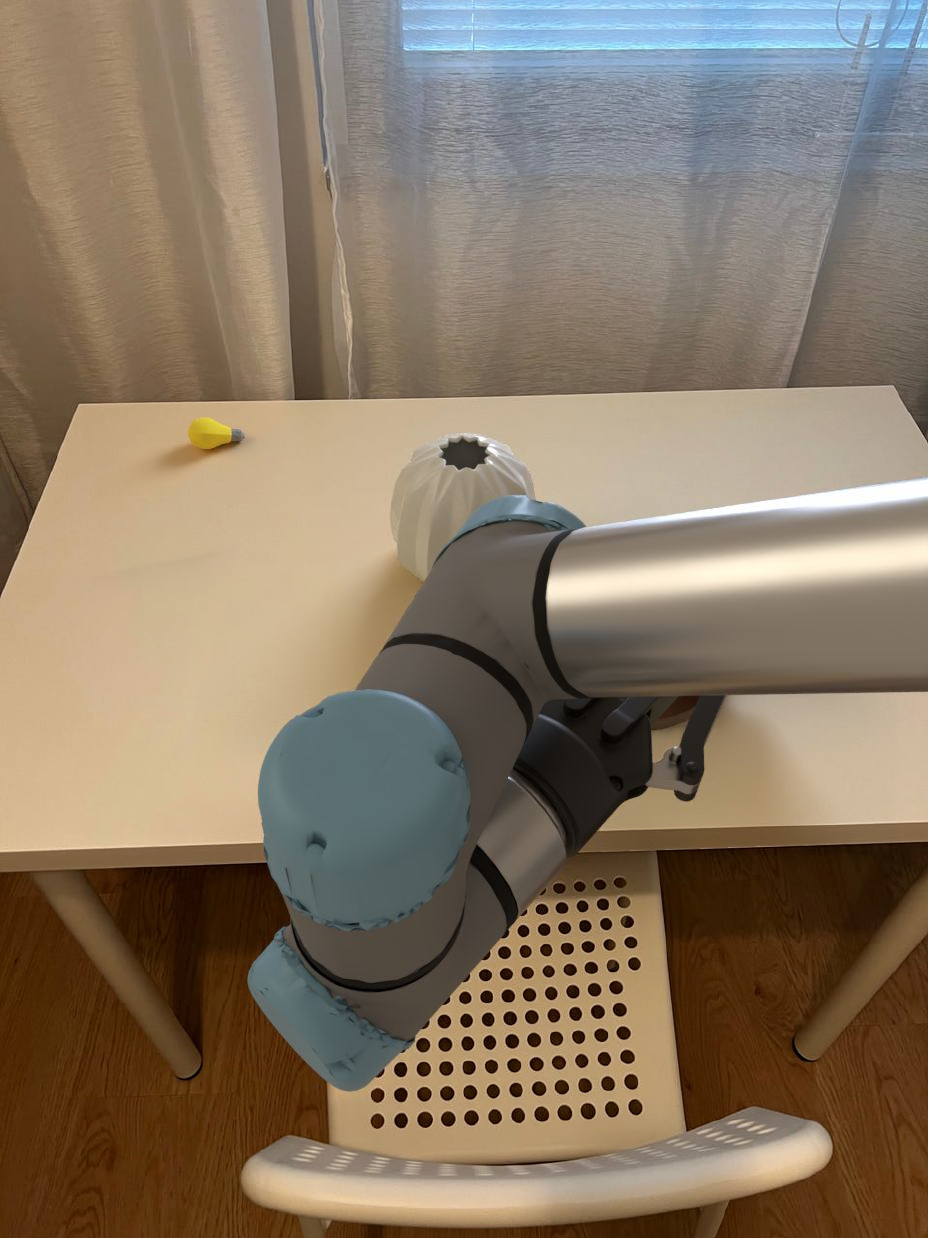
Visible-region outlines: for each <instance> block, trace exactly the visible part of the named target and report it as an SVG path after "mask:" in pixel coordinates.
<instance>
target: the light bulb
mask: <svg viewBox="0 0 928 1238" xmlns="http://www.w3.org/2000/svg"><path fill="white" fill-rule="evenodd" d="M187 435H188V439H189V441H190V443H192V444H193V446H194V447H196V448H198V449H202V450H211V449H214V448H217V447H219V446H221V445H224V444H229V443H230V442H236V443H237V442H239V443H241V442H242V441H243V440H244V439H245V438H246V437H245V436H246V435H245V432H244V431H243V430H242V429H238V428H231V427H230V426H228V425H224V424H222V423H220V422H218V421H217V420H215V419H213V418H212V417H211V418H210V417H207V416H205V417H198V418H196V419H194V420H193V421H192V422H190V424H189V426H188V430H187Z"/></svg>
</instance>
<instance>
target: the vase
mask: <svg viewBox="0 0 928 1238" xmlns="http://www.w3.org/2000/svg"><path fill="white" fill-rule="evenodd" d="M509 495H527V496H528V497H529V498H530V499H533V500H536V501H537V498H536V492H535V486H534V482H533V478H532V474H531V472H530V470H529V469H528V467H527V465H526V463H524V462H523V461H522V460H520V458H518V457H516V456H515V455H514V453H513V451H512V448H511V447H510V446H509V445H508V444H505V443H503V442H501V441H499V440H496V439H494V438H491V437H488V436H484V435H481V434H480V433H472V432H463V433H461V432H460V433H459V432H456V433H455V432H454V433H450V434H446V435H441V436H440V437H439V438H436V439H434V440H431V441H429V442H427V443H425V444H423V445H420V446H418V447H417V448H415V449H414V450H413V451H412V453H411V456H410V459H409V462H408V463H407V464H406V465H404V467H403V468H402V469H401V471H400V473H399V474H398V476H397V478H396V480H395V484H394V488H393V491H392V496H391V502H390V512H389V520H390V521H389V522H390V523H389V524H390V530H391V534H392V538H393V540H394V541H395V543H396V548H397V550H396V551H397V558H398V562H399V566H401V567H402V568H404V569H405V571H407V572H409V573H411V574H412V575H413V576H414V577H416V578H418V579H419V580H421V581H422V582H424V581H425V579H426V577H427V576H428V574H429V573H430V571H431V569H432V566H433V564H434V562H435V560H436V558H437V557H438V555H439V553H440V551H441V550H442V548H443V547H444V545H445V544H446V543H447V542H450V541H451V540H452V539H453V538H454V536H455V535H456V534H457V532H458V531H459V530H460V529H461V527H462V526H463V525H464V523H465V522H466V521H467V520H468V518H469V517H470V516H471V515H472V514H473V513H474V512H475V511H476V510H477V509H478V508H479V507H480V506H482V505H484V504H485V503H487V502H489V501H491V500H493V499H496V498H499V497H504V496H509Z"/></svg>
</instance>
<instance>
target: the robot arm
mask: <svg viewBox="0 0 928 1238" xmlns="http://www.w3.org/2000/svg"><path fill="white" fill-rule="evenodd" d="M404 611H405V612H404V613H403V614H402V616H401V618H400V619H399V621H398V623H397V624H396V626H395V627H394V629H393V631H391V634H390V636H389V637H388V639H387V641H385V643H384V645H383V647H382V649H381V650H380V652H379V653H378V654H377V656H375V658H374V660H373V661H372V663H371V664H370V666H369V668H367V670H366V672H365V674H364V675H363V676H362V678H361V680H360V681H359V682H358V684H357V686H356V687H355V688H354V689H353V690H348V691H342V692H338V693H335V694H332V695H328V696H327V697H325V698H324V699H322V701H320V702H319V703H318V704H316V705H315V706H313V707H310V708H309V709H307V710H306V711H304V712H303V713H301V714H297V715H295V716H294V717H293V718H291V719H290V720H289V721H287V723H286V724H284V726H283V727H282V728H281V729H280V731H278V733H277V734H276V736H275V737H274V739H273V740H272V742H271V743H270V746H269V747H268V749H267V751H266V754H265V756H264V758H263V761H262V764H261V767H260V771H259V777H258V782H257V803H258V809H259V815H260V818H261V822H260V823H261V828H262V833H263V839H262V846H263V855H264V858H265V861H266V864H267V867H268V869H269V873H270V876H271V878H272V879H273V880H274V882H275V883H276V885H277V888H278V889H279V891H280V894H281V896H282V898H283V900H284V903H285V905H286V908H287V911H288V914H289V916H290V917H289V923H290V924H289V925H288V926H282V928H280V929H279V930H278V931H277V932H276V933H275V934H274V937H273V940H271V942H270V943H269V944H268V945H267V947H266V948H265V949H264V950H263V951H262V953H260V955H258V957H257V958H256V959H255V960H254V961H253V963H251V967H250V968H249V970H248V975H247V985H248V989H249V992H250V993H251V996H252V998H253V999H254V1001H255V1003H256V1004H257V1006H258V1007H259V1009H260V1010H261V1011H262V1013H263V1014H264V1015H265V1017H266V1018H267V1020H269V1022H270V1023H271V1024H272V1025H273V1027H274V1028H275V1030H277V1032H278V1033H279V1035H281V1036H282V1038H283V1039H284V1040H285V1041H286V1042H287V1043H288V1045H289V1046H290V1047H291V1048H292V1049H293V1050H294V1052H295V1053H297V1054H298V1056H299V1057H301V1059H302V1060H303V1061H304V1062H305V1063H306V1064H307V1065H308V1066H309V1067H310V1068H311V1069H312V1070H313V1071H314V1072H315V1073H317V1074H318V1076H320V1077H321V1079H323V1080H324V1081H326V1082H327V1083H328V1084H330V1085H331V1086H332V1087H334V1088H336V1089H337V1090H339V1091H343V1092H347V1093H348V1092H349V1093H351V1092H358V1091H360V1090H362V1089H364V1088H366V1087H368V1085H370V1083H371V1082H372V1081H373V1080H374V1079H375V1078H376V1077H377V1076H378V1075H379V1074H380V1073H382V1071H383V1070H384V1069H385V1068H386V1067H387V1066H388V1065H389V1064H390V1063H392V1061H394V1060H395V1059H396V1058H397V1057H398V1056H399V1055H400V1054H401V1053H402V1052H403V1051H407V1050H408V1049H410V1048H411V1047H412V1046H413V1045H414V1043H416V1037H417V1035H418V1034H419V1033H420V1031H421V1030H422V1029H423V1028H424V1027H425V1025H426V1024H427V1023H428V1022H429V1021H430V1020H431V1019H432V1018H433V1016H435V1014H436V1013H437V1012H438V1011H439V1010H440V1008H441V1007H442V1006H443V1005H444V1004H445V1002H446V1001H448V999H449V998H450V997H451V996H452V995H453V994H454V993H455V992H456V990H457V989H458V988H459V987H460V986H461V984H462V983H464V981H465V980H466V979H467V977H468V976H470V974H471V973H472V972H473V971H474V970H475V968H476V967H478V965H479V964H480V963H481V961H482V960H484V958H485V957H486V956H487V955H488V953H490V952H491V950H492V949H493V948H494V947H495V946H496V945H497V943H498V942H499V941H500V940H501V939H502V938H503V936H504V935H505V934H506V933H507V931H509V930H510V928H511V927H512V926H513V925H514V924H515V923H516V921H517V920H518V919H519V918H520V917H521V916H522V915H523V914H524V913H525V911H526V910H527V909H528V908H529V907H530V906H531V905H532V904H533V903H534V902H535V900H536V899H538V898H539V896H540V895H541V894H542V893H543V892H544V891H545V890H546V889H547V888H548V886H549V885H550V884H551V883H552V882H553V881H554V880H555V879H556V878H557V876H558V875H559V874H561V872H562V871H563V870H564V869H565V866H566V864H567V859H569V858H573V857H575V856H576V855H578V854H579V852H580V851H581V850H582V849H583V847H585V846H586V844H587V843H588V842H589V841H590V840H591V839H592V838H593V837H594V835H596V833H597V832H598V831H599V830H600V829H601V828H602V826H604V824H605V823H606V822H607V821H608V820H609V818H610V817H611V816H612V815H613V814H614V813H615V812H616V811H617V809H618V808H619V807H620V806H621V805H623V804H624V803H625V802H627V801H629V800H632V799H635V798H638V797H640V796H642V795H643V794H644V793H646V791H647V790H648V789H649V788H650V789H651V788H652V789H660V790H668V791H673V795H674V796H675V797H676V799H677V800H679V801H681V802H685V803H686V802H691V801H693V800H694V799H695V798H696V796H697V792H698V790H699V787H700V785H701V782H702V779H703V776H704V774H705V768H706V767H705V746H706V743H707V742H708V740H709V736H710V735H711V733H712V730H713V728H714V726H715V723H716V722H717V718H718V717H719V714H720V713H721V710H722V707H723V705H724V702H725V701H726V698H727V696H749V695H751V696H759V695H760V696H762V695H815V694H817V695H819V694H820V695H821V694H822V695H824V694H825V695H826V694H827V695H828V694H878V693H879V694H880V693H883V694H884V693H885V694H886V693H887V694H888V693H928V475H927V476H922V477H921V476H920V477H914V478H908V479H902V480H895V481H887V482H880V483H875V484H874V483H873V484H866V485H860V486H854V487H847V488H840V489H834V490H827V491H821V492H813V493H807V494H800V495H793V496H792V495H791V496H786V497H781V498H780V497H779V498H773V499H767V500H760V501H759V500H758V501H752V502H746V503H740V504H739V503H738V504H733V505H726V506H720V507H714V508H713V507H712V508H706V509H698V510H692V511H686V512H685V511H684V512H678V513H672V514H666V515H659V516H658V515H657V516H653V517H652V516H651V517H645V518H644V517H643V518H640V519H639V518H637V519H632V520H625V521H618V522H611V523H604V524H597V525H591V526H587V525H586V524H585V523H584V522H583V521H582V520H581V519H580V518H579V517H578V516H577V515H575V514H574V513H573V512H571V511H570V510H568V509H567V508H565V507H564V506H562V505H560V504H557V503H556V502H553V501H551V500H548V501H545V502H543V501H539V500H537V499H536V500H533V499H530V498H529V497H528V496H527V495H509V496H504V497H499V498H496V499H493V500H491V501H489V502H487V503H485V504H484V505H482V506H480V507H479V508H478V509H477V510H476V511H475V512H474V513H473V514H472V515H471V516H470V517H469V518H468V520H467V521H466V522H465V523H464V525H463V526H462V527H461V529H460V530H459V531H458V532H457V534H456V535H455V536H454V538H453V539H452V540H451V541H450V542H447V543H446V544H445V545H444V547H443V548H442V550H441V551H440V553H439V555H438V557H437V558H436V560H435V562H434V564H433V566H432V569H431V571H430V573H429V574H428V576H427V577H426V579H425V581H422V584H421V586H420V587H419V589H418V591H417V592H416V593H415V595H414V597H413V598H412V600H411V602H410V603H409V605H408V607H407V608H406V610H404ZM679 696H700V697H699V699H698V702H697V704H696V706H695V708H694V710H693V712H692V715H691V717H690V718H689V719H688V720H687V723H686V726H685V728H684V731H683V733H682V737H681V739H680V742H679V745H678V746H677V745H675V746H673V747H672V748H670V749H667V750H666V751H665V752H664V754H663V757H662V758H661V760H659V761H656V762H654V761H653V736H652V735H653V734H652V730H651V728H652V726H653V724H654V723H655V721H656V720H657V719H658V718H659V717H660V716H661V715H662V714H663V713H664V712H665V711H666V709H667V708H668V707H669V706H670V705H671V704H672V703H673V702H674V701H675V700H676V699H677V698H678V697H679Z"/></svg>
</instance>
